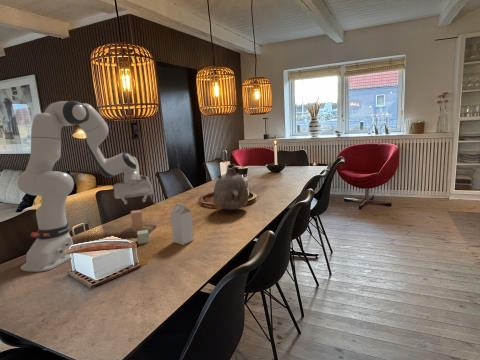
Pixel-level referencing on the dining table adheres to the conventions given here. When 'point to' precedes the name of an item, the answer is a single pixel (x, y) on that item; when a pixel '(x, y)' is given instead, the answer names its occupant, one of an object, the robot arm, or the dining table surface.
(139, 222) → the terracotta block
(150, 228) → the walnut board
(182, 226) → the milk carton
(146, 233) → the sage block
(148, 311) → the dining table surface
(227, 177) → the jug
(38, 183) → the robot arm
